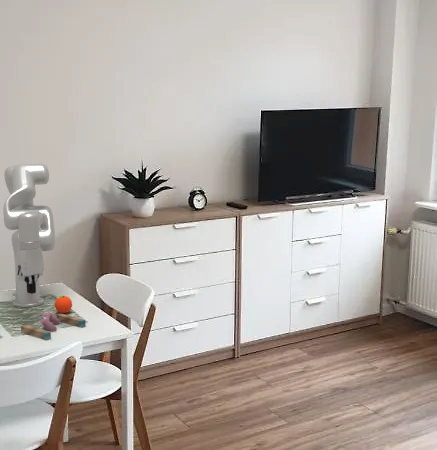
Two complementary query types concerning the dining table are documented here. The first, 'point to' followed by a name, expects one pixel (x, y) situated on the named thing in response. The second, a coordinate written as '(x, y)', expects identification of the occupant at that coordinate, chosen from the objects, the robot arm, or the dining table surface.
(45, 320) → the video game controller
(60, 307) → the clementine
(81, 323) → the channel
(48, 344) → the dining table surface
